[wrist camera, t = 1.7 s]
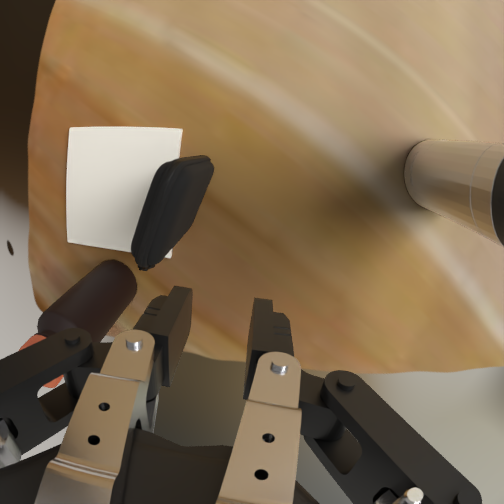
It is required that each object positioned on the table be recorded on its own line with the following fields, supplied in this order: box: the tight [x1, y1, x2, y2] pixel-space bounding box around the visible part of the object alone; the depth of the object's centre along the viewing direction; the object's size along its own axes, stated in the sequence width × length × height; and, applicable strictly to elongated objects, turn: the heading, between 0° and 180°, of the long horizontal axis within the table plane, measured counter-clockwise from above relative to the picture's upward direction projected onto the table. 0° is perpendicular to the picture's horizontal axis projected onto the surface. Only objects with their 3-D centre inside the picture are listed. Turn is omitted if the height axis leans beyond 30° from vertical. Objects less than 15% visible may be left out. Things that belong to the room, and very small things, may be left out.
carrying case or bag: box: [131, 155, 214, 271], centre depth 29 cm, size 11×3×15 cm, turn 156°
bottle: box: [19, 260, 137, 388], centre depth 31 cm, size 7×7×20 cm
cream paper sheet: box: [66, 127, 183, 258], centre depth 36 cm, size 16×16×1 cm
